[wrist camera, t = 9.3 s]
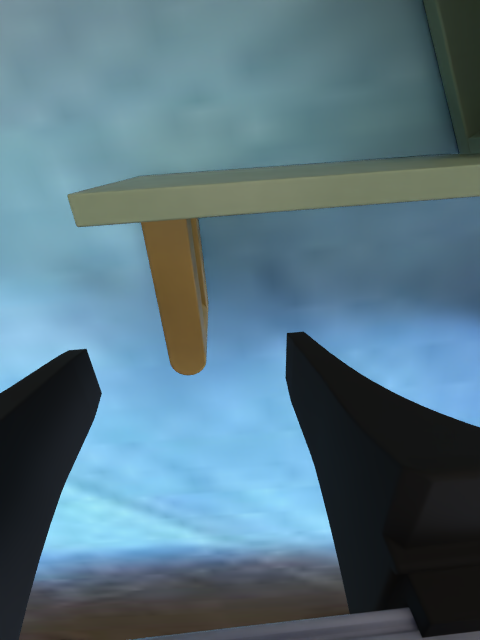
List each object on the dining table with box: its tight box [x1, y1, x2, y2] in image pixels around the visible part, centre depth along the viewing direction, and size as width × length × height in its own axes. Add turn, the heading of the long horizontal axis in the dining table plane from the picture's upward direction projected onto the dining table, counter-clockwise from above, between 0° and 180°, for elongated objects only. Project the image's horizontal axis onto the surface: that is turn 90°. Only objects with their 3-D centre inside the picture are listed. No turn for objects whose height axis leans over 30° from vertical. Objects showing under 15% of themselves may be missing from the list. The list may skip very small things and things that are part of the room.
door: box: [68, 153, 480, 375], centre depth 13 cm, size 7×16×8 cm, turn 94°
